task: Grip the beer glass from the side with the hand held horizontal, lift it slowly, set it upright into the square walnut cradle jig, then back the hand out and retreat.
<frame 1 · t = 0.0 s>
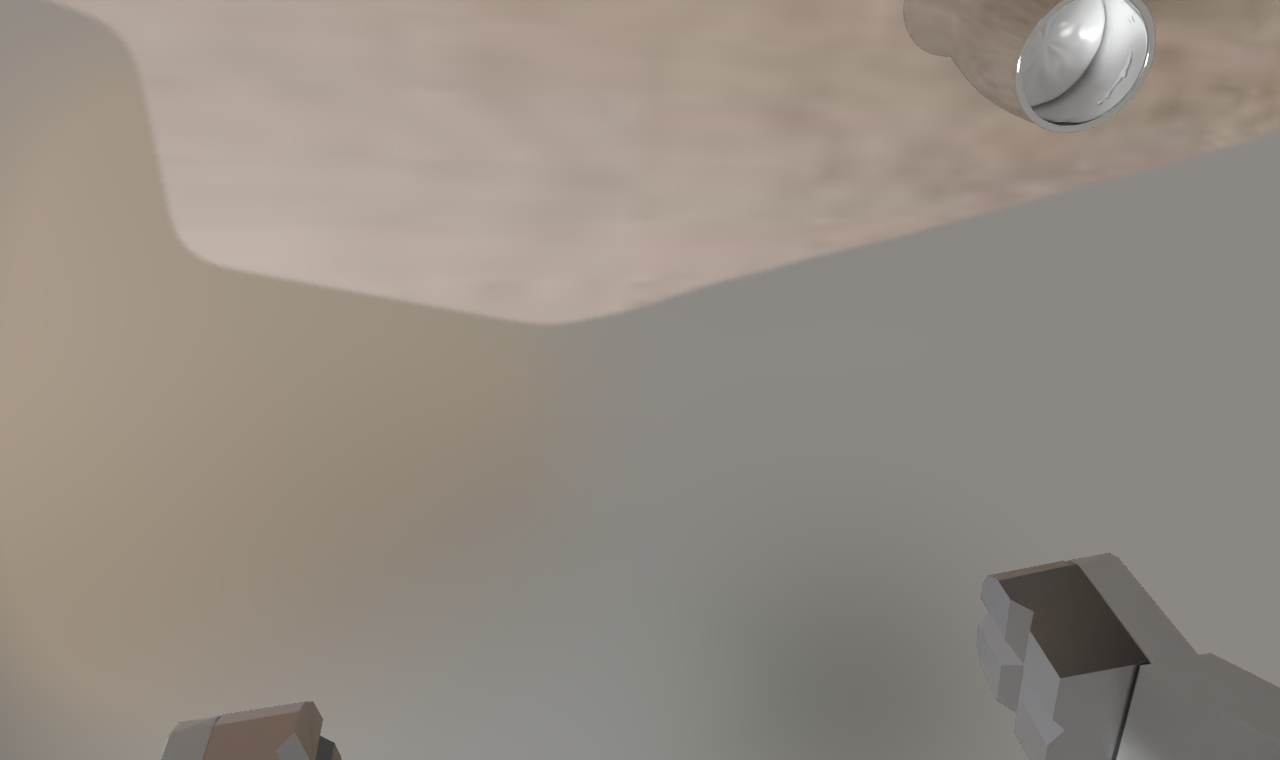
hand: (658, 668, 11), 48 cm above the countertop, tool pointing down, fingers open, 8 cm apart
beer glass: (951, 0, 55), on the countertop
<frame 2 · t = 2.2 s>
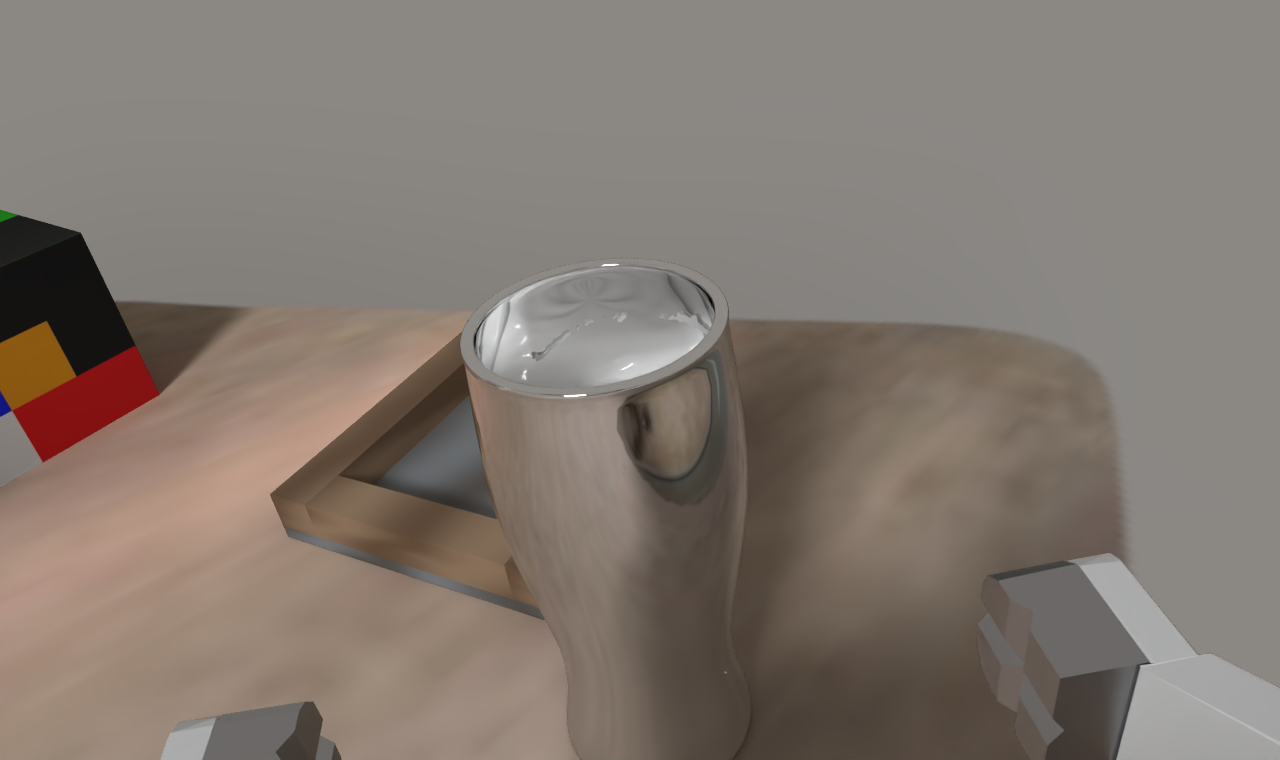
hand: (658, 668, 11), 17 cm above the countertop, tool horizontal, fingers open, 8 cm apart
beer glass: (659, 715, 31), on the countertop
puzzle toy: (31, 424, 52), on the countertop
cradle jig: (509, 471, 42), on the countertop
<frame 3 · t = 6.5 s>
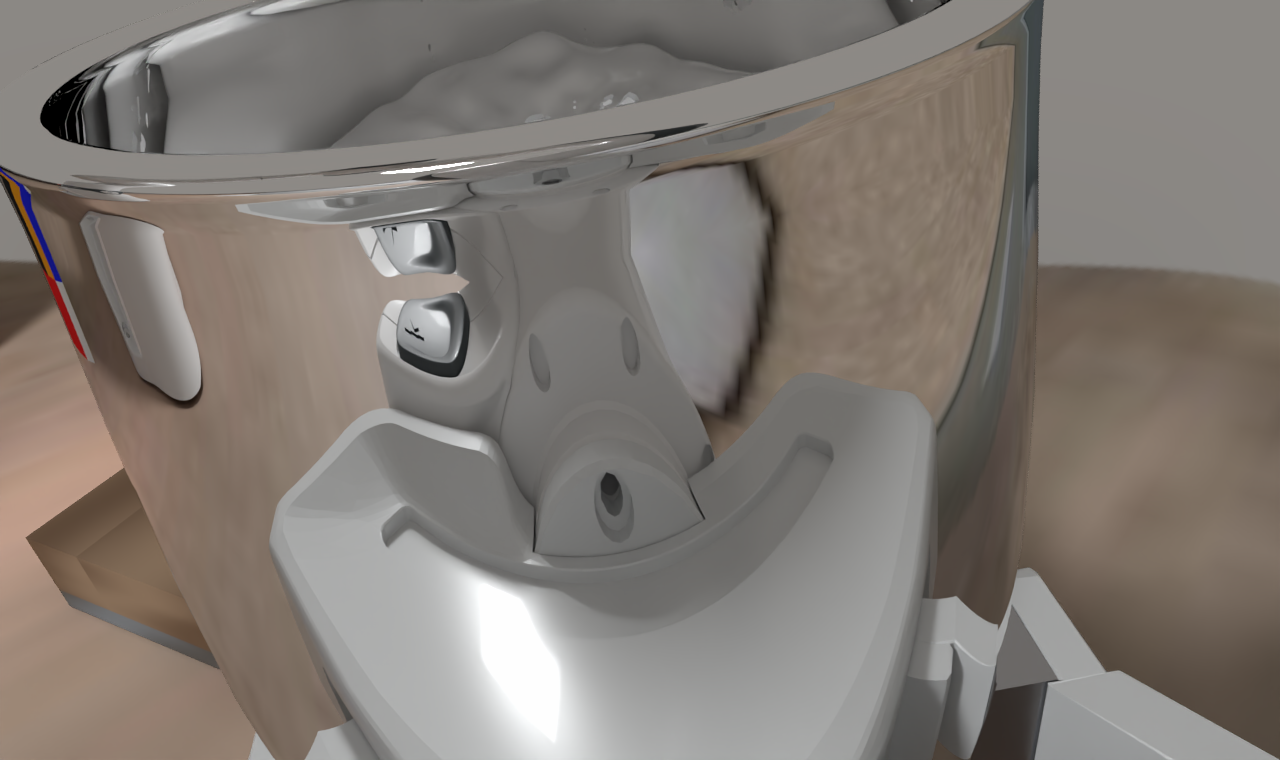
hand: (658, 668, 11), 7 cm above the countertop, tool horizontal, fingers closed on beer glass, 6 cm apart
cradle jig: (445, 494, 26), on the countertop
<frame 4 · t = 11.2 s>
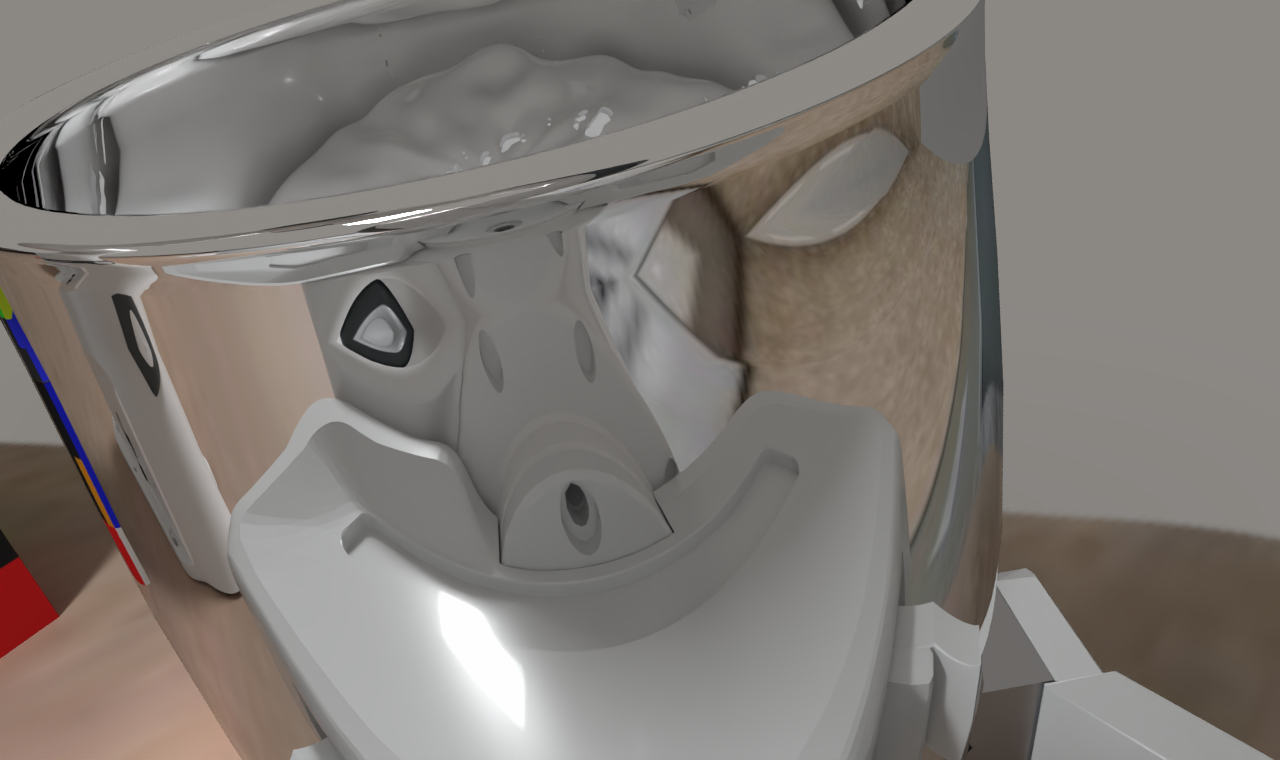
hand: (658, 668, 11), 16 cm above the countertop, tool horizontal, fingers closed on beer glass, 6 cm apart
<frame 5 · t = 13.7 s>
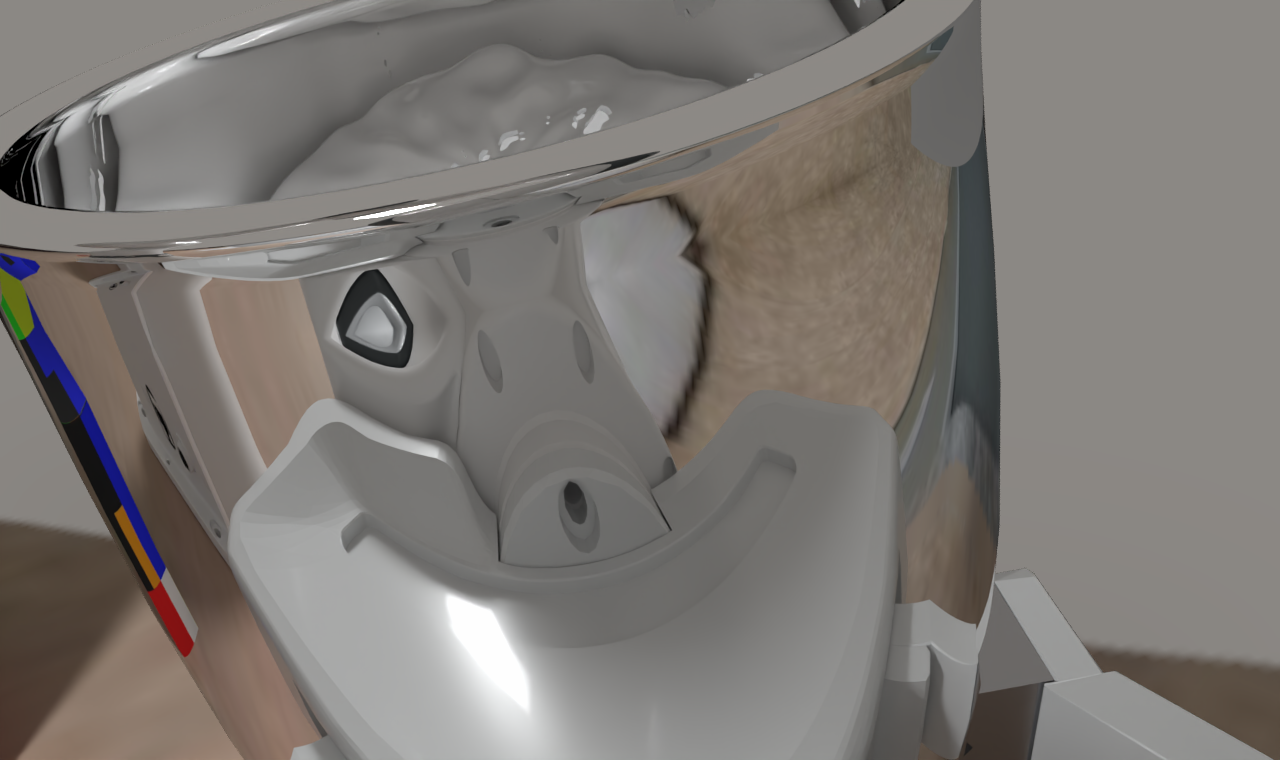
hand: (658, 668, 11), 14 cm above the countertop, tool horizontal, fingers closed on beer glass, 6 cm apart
when the fingers open (9 cm above the countertop, at t = 15.6 s): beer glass moves 2 cm, resting on cradle jig.
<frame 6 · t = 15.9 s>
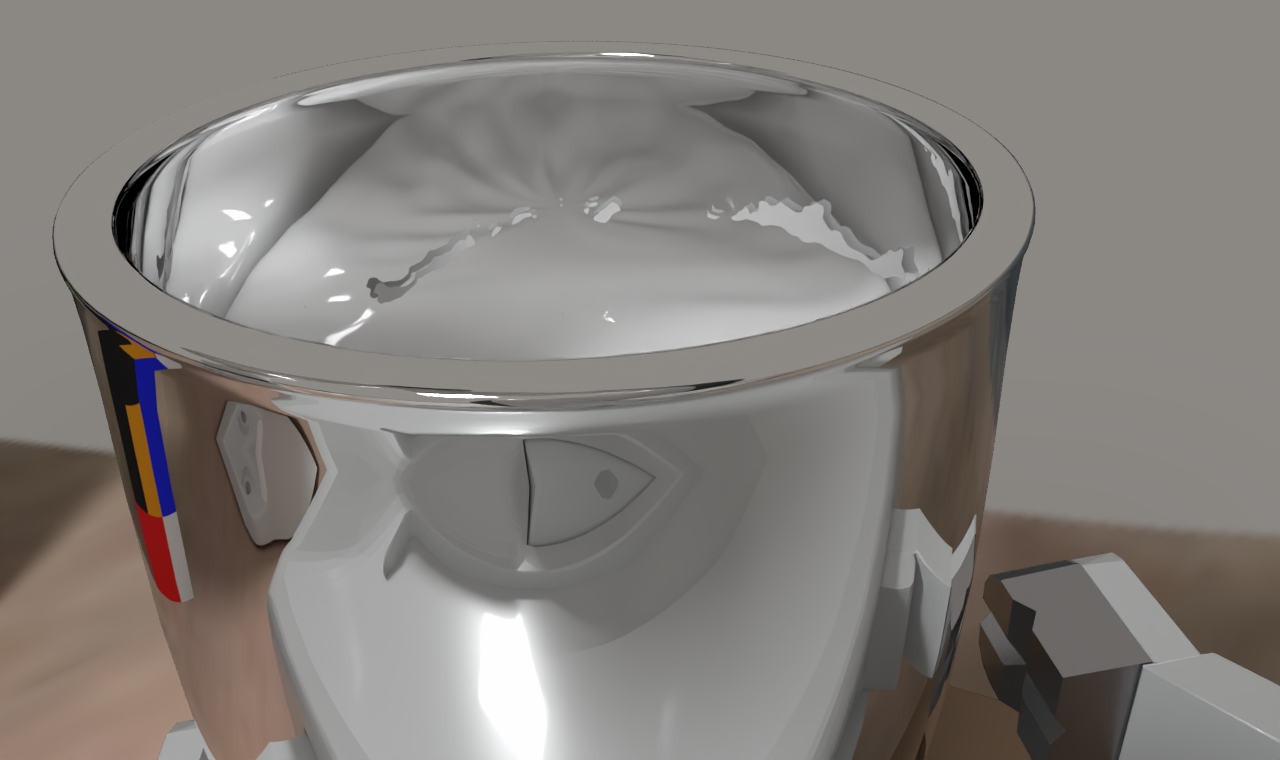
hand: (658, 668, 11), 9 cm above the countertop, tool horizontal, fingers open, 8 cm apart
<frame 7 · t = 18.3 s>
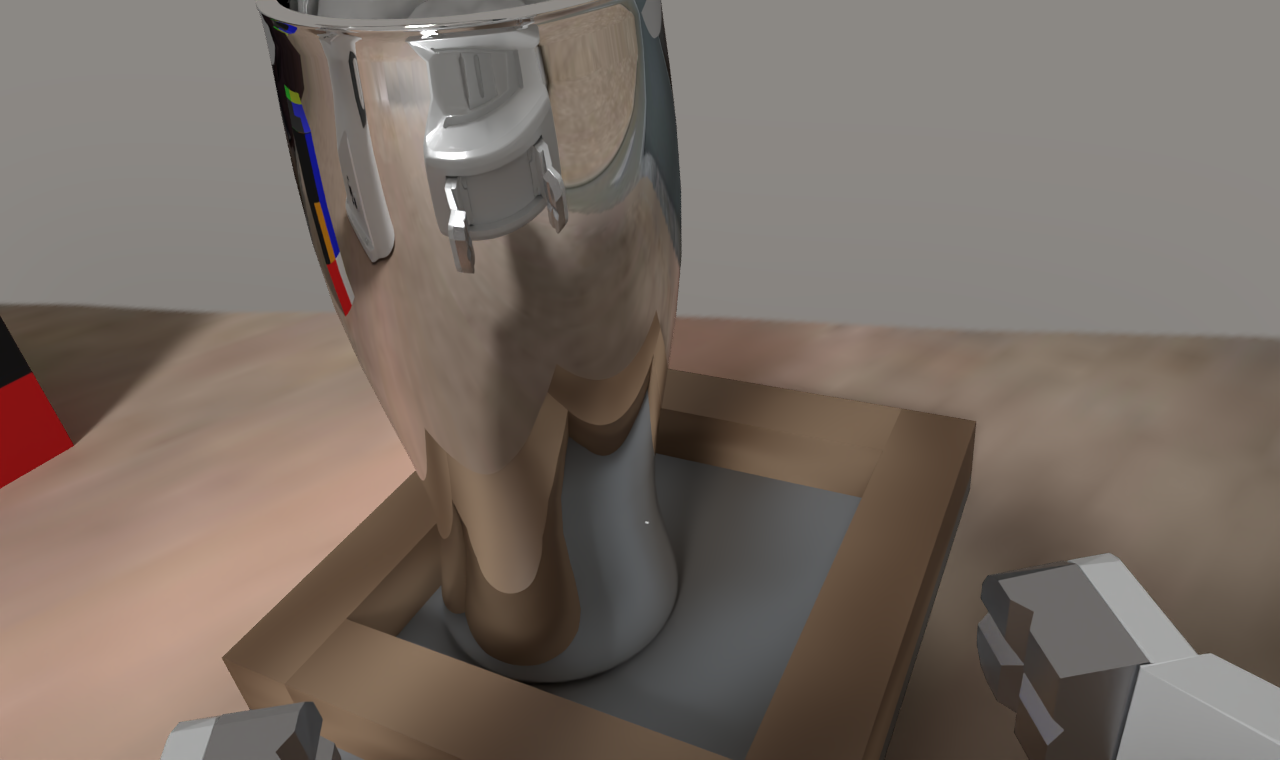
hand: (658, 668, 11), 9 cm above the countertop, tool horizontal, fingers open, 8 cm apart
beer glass: (562, 591, 24), point 1 cm above the countertop, touching cradle jig
cradle jig: (642, 597, 24), on the countertop
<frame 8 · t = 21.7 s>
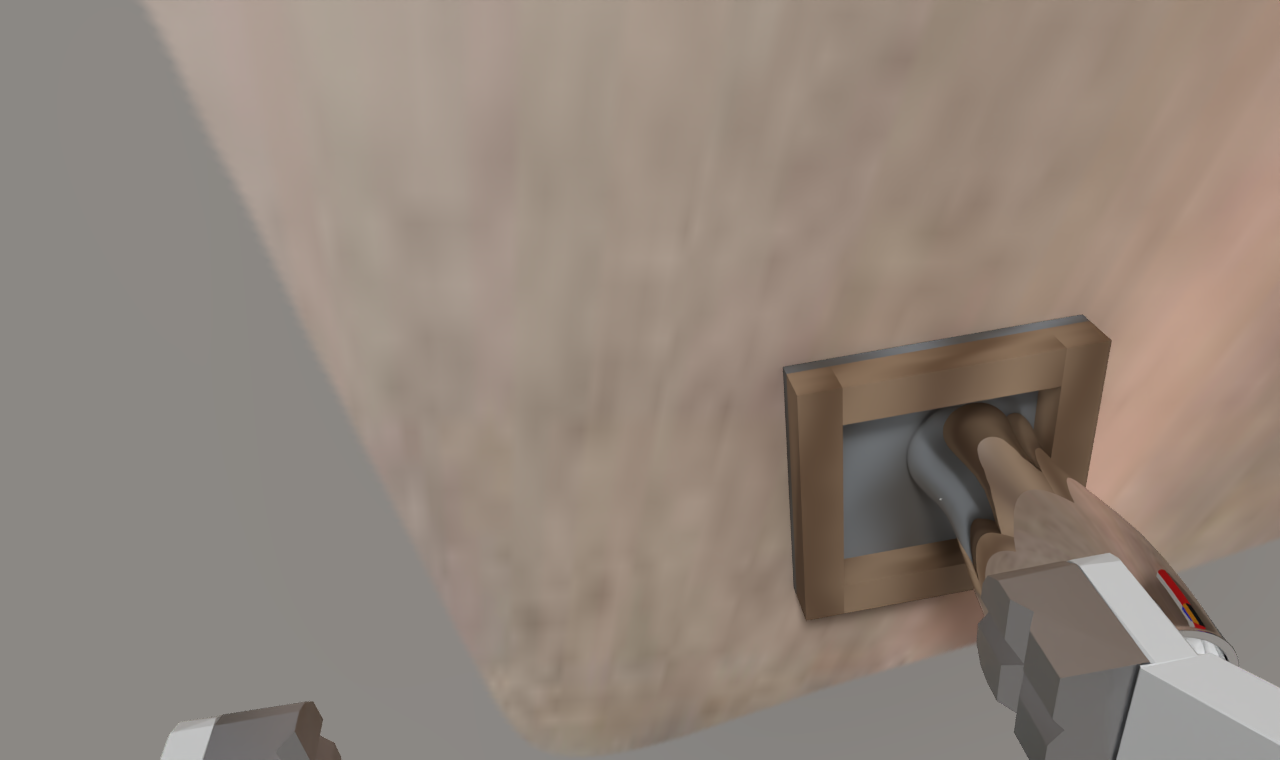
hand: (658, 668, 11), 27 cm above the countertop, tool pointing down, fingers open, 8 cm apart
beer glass: (965, 443, 45), resting on cradle jig
cradle jig: (927, 461, 46), on the countertop
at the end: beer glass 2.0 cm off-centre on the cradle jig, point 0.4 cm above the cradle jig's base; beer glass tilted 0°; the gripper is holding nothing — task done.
